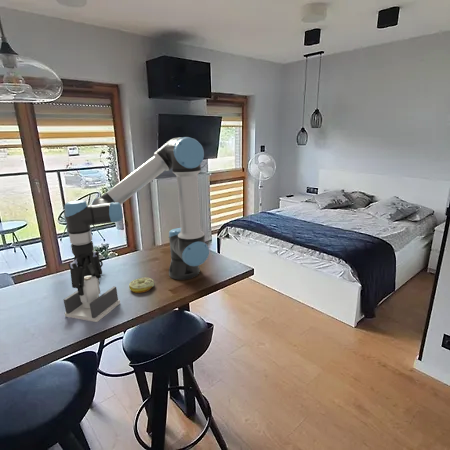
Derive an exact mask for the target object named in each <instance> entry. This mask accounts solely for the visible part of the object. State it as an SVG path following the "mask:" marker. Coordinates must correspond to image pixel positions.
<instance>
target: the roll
mask: <svg viewBox="0 0 450 450" xmlns="http://www.w3.org/2000/svg"><path fill="white" fill-rule="evenodd" d="M84 286H85V287H86V293H87V298H88V302H87V303H85V302H82V304H83V307H84V308H90V303H91V302H92V301H94V300H95V299H97V298H98V297H99V296H100V294H99V292H98V285H97V279H96V276H93V275H89V276H84Z"/></svg>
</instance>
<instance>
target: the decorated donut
mask: <svg viewBox="0 0 450 450" xmlns="http://www.w3.org/2000/svg"><path fill="white" fill-rule="evenodd" d="M154 286H155V281H154V280H153V279H152V278H150V277H148V276H147V277H138V278H137V279H133V280H131V281H130V282H129V284H128V288H129V290H130V291H131V292H133V293H136V294H142V293H146V292H149V291H150V290H151V289H153V287H154Z"/></svg>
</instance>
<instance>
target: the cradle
mask: <svg viewBox="0 0 450 450" xmlns="http://www.w3.org/2000/svg"><path fill="white" fill-rule="evenodd" d="M62 301H63V303H64V309H65V312H64V316H65V317H67V318H71V319H77V320H84V321H88V322H94V323H98V322H99V321H101V320H102V319H103V318H104V317H106V315H108V314H109V313H111V312H112V311H113V310H114V309H115V308H116V307H118V306H119V305H120V304H121V299H119V296H118V290H117V286H112V287H110V289H108V290H107V291H105V292H103V293H102V294H101V295H99V297H98V298H97V299H95V300H94V301H92V302H91V303H90V308H84V307H83V304H82V302H81V299H80V295H79V294H78V290H76V291H74V292H73V293H71V294H69V295H68V296H67V297H65V298H64V299H63V300H62Z"/></svg>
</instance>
